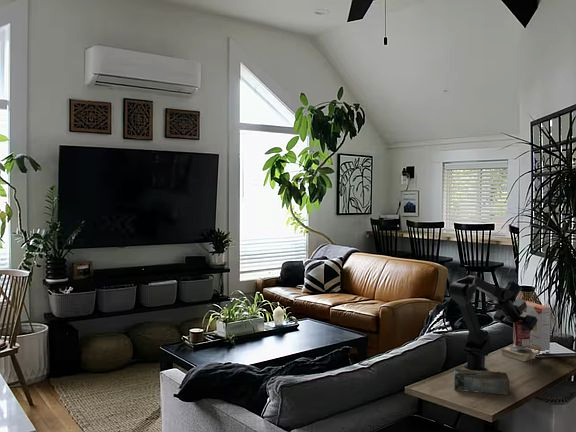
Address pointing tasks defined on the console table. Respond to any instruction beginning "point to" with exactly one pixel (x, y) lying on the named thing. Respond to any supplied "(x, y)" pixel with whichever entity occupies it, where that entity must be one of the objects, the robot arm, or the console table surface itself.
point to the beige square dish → (520, 353)
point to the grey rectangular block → (481, 381)
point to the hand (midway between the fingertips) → (523, 330)
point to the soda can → (520, 336)
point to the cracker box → (539, 326)
